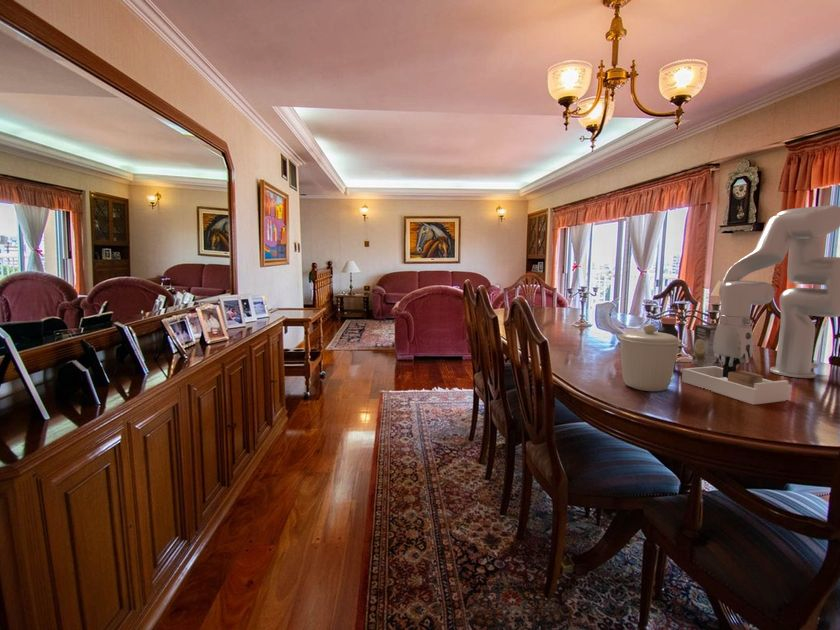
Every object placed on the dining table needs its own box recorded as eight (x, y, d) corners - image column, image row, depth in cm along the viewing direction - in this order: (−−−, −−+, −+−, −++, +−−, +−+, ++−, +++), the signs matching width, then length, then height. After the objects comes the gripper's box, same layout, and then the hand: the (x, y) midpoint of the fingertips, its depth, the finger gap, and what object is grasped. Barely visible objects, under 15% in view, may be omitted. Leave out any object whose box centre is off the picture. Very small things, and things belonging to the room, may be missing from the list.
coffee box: (690, 363, 168) (694, 324, 165) (706, 363, 167) (710, 324, 165) (706, 369, 158) (709, 328, 156) (722, 369, 158) (726, 328, 156)
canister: (644, 398, 125) (649, 329, 123) (603, 381, 143) (606, 321, 140) (691, 393, 130) (697, 327, 128) (646, 377, 148) (650, 319, 145)
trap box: (713, 378, 146) (715, 361, 145) (788, 400, 123) (791, 380, 122) (681, 381, 143) (683, 364, 142) (753, 404, 120) (755, 384, 119)
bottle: (669, 366, 162) (673, 316, 159) (678, 371, 155) (683, 319, 153) (651, 366, 163) (655, 316, 160) (659, 371, 156) (663, 318, 154)
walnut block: (742, 381, 132) (743, 370, 132) (761, 386, 127) (762, 375, 126) (727, 382, 131) (728, 371, 130) (746, 388, 125) (747, 377, 125)
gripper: (768, 324, 125) (761, 383, 127) (721, 317, 139) (716, 370, 142) (748, 325, 123) (742, 384, 125) (703, 318, 137) (698, 372, 140)
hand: (728, 377), depth 134 cm, fingers closed
